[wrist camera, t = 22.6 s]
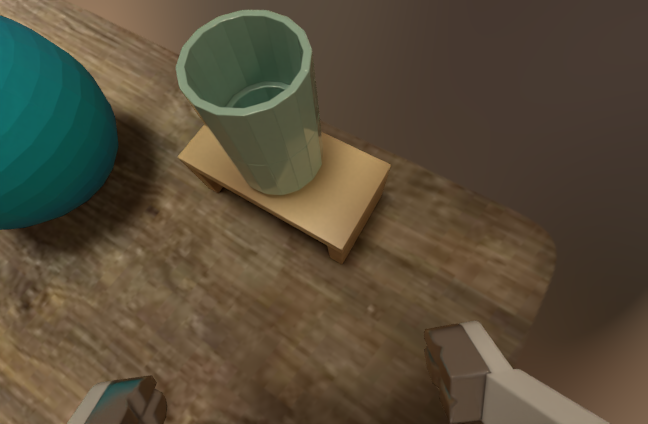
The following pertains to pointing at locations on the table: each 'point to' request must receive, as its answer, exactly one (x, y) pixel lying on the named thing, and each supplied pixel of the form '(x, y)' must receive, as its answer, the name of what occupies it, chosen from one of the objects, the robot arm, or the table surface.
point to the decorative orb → (48, 130)
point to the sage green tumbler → (256, 96)
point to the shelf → (304, 190)
